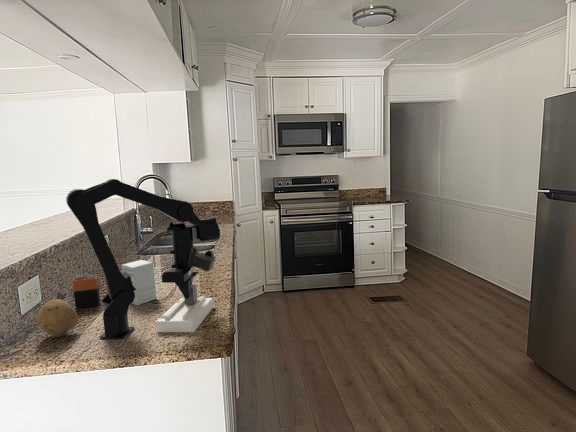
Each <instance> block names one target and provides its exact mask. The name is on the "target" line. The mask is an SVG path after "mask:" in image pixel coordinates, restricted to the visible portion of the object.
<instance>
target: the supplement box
mask: <svg viewBox="0 0 576 432" xmlns="http://www.w3.org/2000/svg"><path fill="white" fill-rule="evenodd" d="M125 272H127V273H128V274H129V275H130V277H131V280H132V284H133V286H134V287H135V288H136V290H134V292H135V298H134V301H133V302H132V303H131V305H134V306H140V305H142V304H143V305H144V303H146V304H147V303H148V302H151V301H153V300H157V297H158V296H157V289H156V280H155V269H154V262H152V261H150V260H149V261H148V260H143V259H138V260H135V261H131V262H127V263H124V264H121V273H122V274H123V273H125Z"/></svg>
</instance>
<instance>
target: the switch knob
mask: <svg viewBox="0 0 576 432" xmlns="http://www.w3.org/2000/svg"><path fill="white" fill-rule="evenodd" d="M183 298H184V299H185V297H184V296H183ZM197 298H198V289H197V284H196V283H195V284H192V287H191V292H190V297H189V299H185V304H195V303H196V301H197Z"/></svg>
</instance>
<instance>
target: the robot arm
mask: <svg viewBox="0 0 576 432" xmlns="http://www.w3.org/2000/svg"><path fill="white" fill-rule="evenodd" d="M113 196H117V197H121V198H123V199H125V200H129V201H132V202H135V203H137V204H140V205H143V206H147V207H149V208H152V209H154V210H156V211H158V212H160V213H162V214H163V215H165V216H166V217H169V218H170V219H172V220H174V221H177V222H179V223H173V221H168V222H167V224H166V225H165V226H164V227H163V231H164V230H165V231H167V232H171V242H172V249H170V255H173V263H172V264H171V268H169V269H166V270H165V271H164V272H162V274H161V275H160V277H161V283H163V284H166V283H168V284H169V283H174V284H175V285H176V286H177V288H178V289H179V291H180V293H181V294H182V296H183V298H184V297H185V299H189V297H190V292H191V287H192V285H193V282H194V279H195V277H197V276H198V274H200V271H195V268H198V269H201V270H202V271H205V272H209V271H211V270H212V269H213V268H214V264H215V262H216V256H215V255H214V254H215V253H214V251H212V250H210V249H209V250H207V251H205V253H204V252H198V248H197V246H194V240H196V241H197V242H198V243H200V244H201V243H207V242H213V241H220V237H221V229H220V228H219V227H220V226H219V224H218V222H217V218H216V217H214V216H213V217H208V218H201V219H200V218H199V217H198V216H197V215H196V214H195V212H194V208H193V205H192V204H191V202H188V201H184V200H181V199H174V198H170V197H162V196H160V195H157V194H155V193H152V192H149V191H147V190H144V189H141V188H139V187H136V186H133V185H131V184H127V183H125V182H122V181H121V180H119V179H117V178H109V179H107V180H106V181H104V182H102V183H98V184H95V185H93V186H91V187H87V188H85V189H82V188H75V189H73V190H70V191H69V192H68V194H67V195H66V197H65V201H66V205H67V207H68V208H69V209H70V210H71V212H72V213H73V216H75V218H76V219H77V220H78V222H79V224H80V225H81V226H82V228H83V230H84V233H85V235H86V237H87V239H88V241H89V244H90V246H91V248H92V250H93V253H94V254H95V257H96V258H97V261H98V264H99V266H100V268H101V270H102V272H103V274H104V280H105V286H106V290H107V294H106V295H105V296H104V297H103V298H102V299H101V300H100V303H99V304H100V306H101V307H102V310H103V313H102V314H103V315H102V320H103V321H102V322H103V326H104V327H103V328H104V332H103V333H102V334H101V335H100V336H99V339H125V337H127V336H128V335H129V334H130V333H131V332H132V331H134V330H135V326H129V325H130V324H129V315H128V312H129V310H130V309H129V308H130V306H131V305H132V302H133V301H134V298H135V292H134V290H136V288H135V287H134V286H133V284H132V280H131V277H130V275H129V274H128V273H127V272H125V273H122V271H121V270H120V268H119V266H118V264H117V261H116V260H115V256H114V254H113V253H112V250H111V248H110V246H109V243H108V241H107V239H106V237H105V234H104V232H103V230H102V227H101V225H100V222H99V218H98V211H97V207H96V204H99V203H101V202H103V201H104V200H107V199H109V198H111V197H113ZM185 223H188V224H191V225H186V224H185Z"/></svg>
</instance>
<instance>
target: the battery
mask: <svg viewBox="0 0 576 432" xmlns="http://www.w3.org/2000/svg"><path fill="white" fill-rule="evenodd" d="M72 287H73V296H74V305H75V309H82V308H90V307H96V306H99V305H100V304H101V303H100V302H101V294H100V286H99V277H98V275H96V274H95V275H94V274H88V275H87V276H84V275H83V274H78V275H76V276H75V278H74V279H73V280H72Z"/></svg>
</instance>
